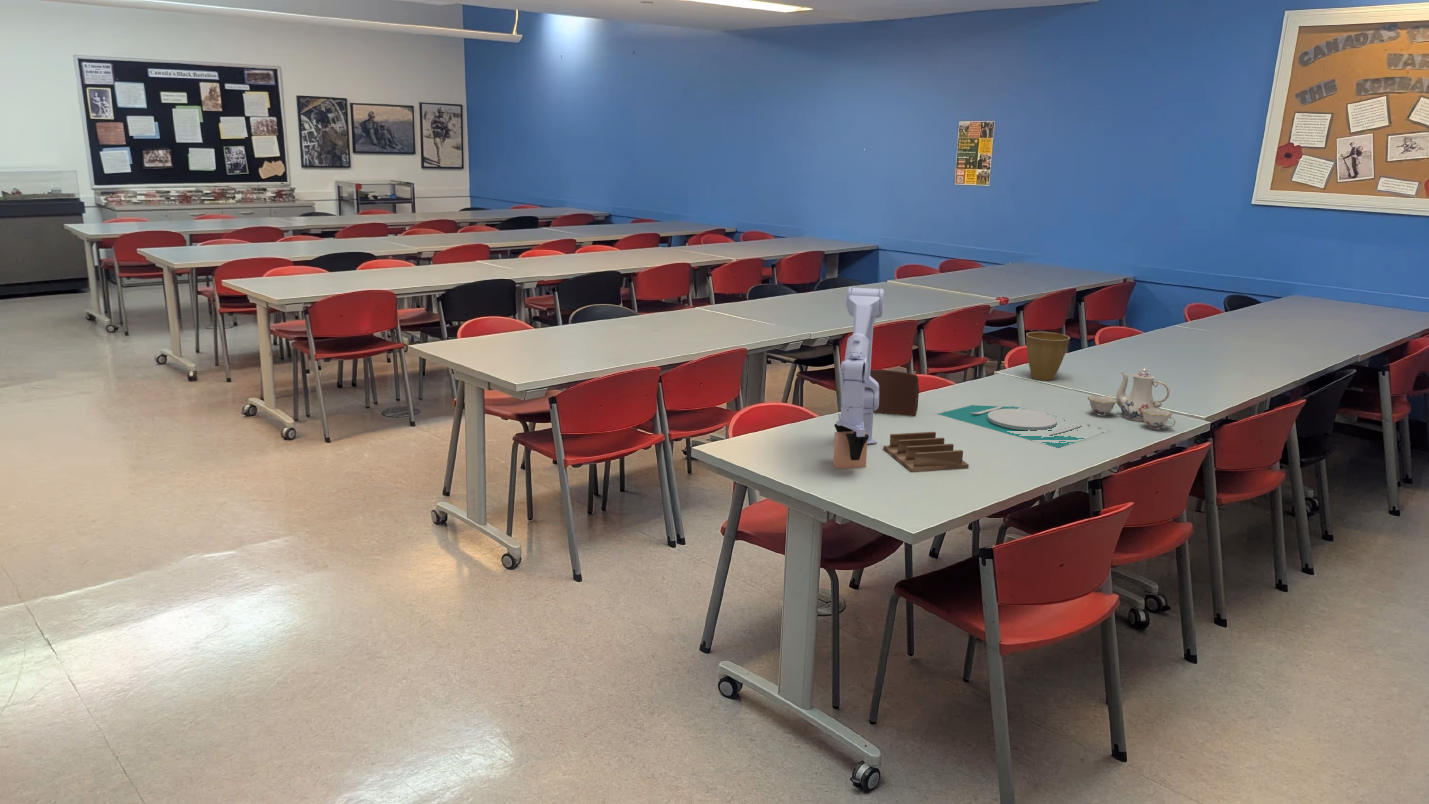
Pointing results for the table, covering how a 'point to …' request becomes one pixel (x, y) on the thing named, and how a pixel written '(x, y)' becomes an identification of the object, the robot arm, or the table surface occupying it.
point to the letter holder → (896, 392)
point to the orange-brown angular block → (846, 452)
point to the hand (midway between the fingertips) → (850, 455)
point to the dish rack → (924, 452)
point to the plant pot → (1045, 353)
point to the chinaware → (1136, 401)
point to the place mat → (1012, 421)
